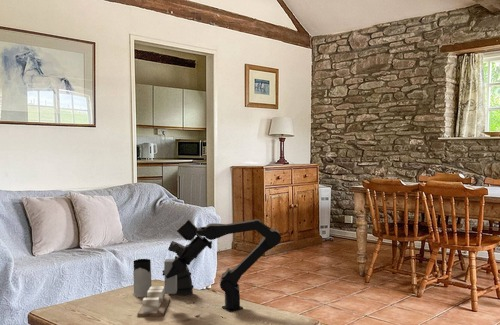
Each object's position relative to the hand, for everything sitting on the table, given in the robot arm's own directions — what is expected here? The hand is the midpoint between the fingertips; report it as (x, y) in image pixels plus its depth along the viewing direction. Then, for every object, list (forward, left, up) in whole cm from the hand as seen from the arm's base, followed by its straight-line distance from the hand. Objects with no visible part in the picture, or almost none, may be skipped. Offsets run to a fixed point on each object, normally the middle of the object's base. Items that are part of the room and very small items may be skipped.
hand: (167, 276), depth 195 cm
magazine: (+17, -13, -14) cm, 25 cm away
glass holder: (+29, -2, -14) cm, 32 cm away
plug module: (-1, -1, -7) cm, 7 cm away
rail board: (+6, +3, -14) cm, 15 cm away
